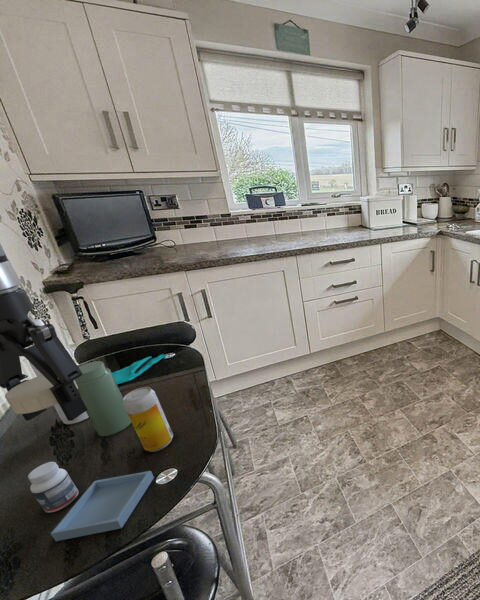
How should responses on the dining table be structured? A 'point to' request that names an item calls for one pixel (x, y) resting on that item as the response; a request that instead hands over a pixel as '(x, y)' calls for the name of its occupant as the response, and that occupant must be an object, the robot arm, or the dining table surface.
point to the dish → (104, 506)
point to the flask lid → (31, 395)
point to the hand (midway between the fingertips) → (57, 415)
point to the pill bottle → (52, 487)
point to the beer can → (148, 418)
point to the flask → (102, 399)
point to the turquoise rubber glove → (135, 369)
